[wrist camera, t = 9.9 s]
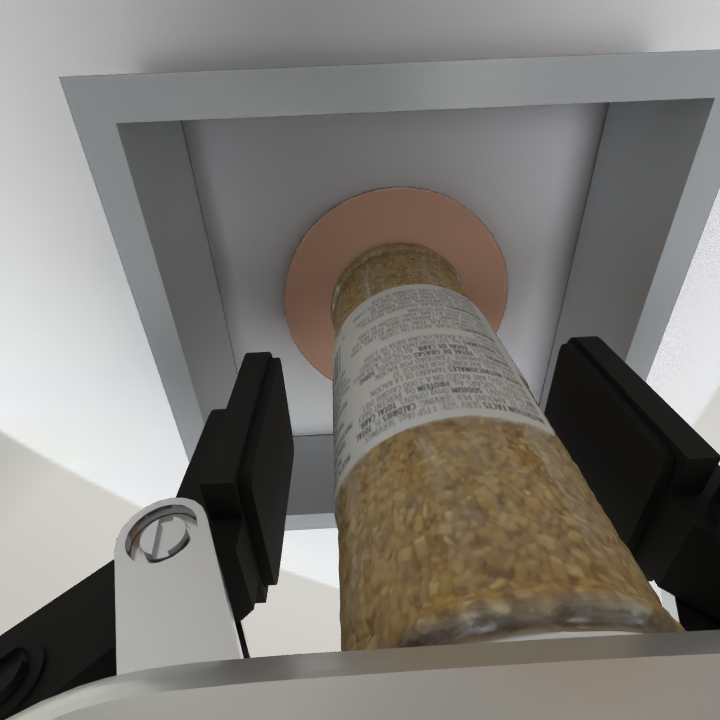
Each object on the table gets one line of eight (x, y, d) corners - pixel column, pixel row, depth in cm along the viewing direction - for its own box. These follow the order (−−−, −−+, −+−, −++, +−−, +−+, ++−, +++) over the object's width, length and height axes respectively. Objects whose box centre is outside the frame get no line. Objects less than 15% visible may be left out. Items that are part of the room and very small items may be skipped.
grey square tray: (141, 79, 12) (59, 76, 8) (649, 58, 12) (772, 46, 8) (236, 453, 19) (213, 534, 15) (550, 437, 19) (595, 513, 16)
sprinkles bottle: (442, 365, 16) (694, 1004, 5) (320, 352, 16) (300, 1048, 4) (479, 246, 14) (1117, 961, 3) (338, 225, 13) (387, 1041, 2)
